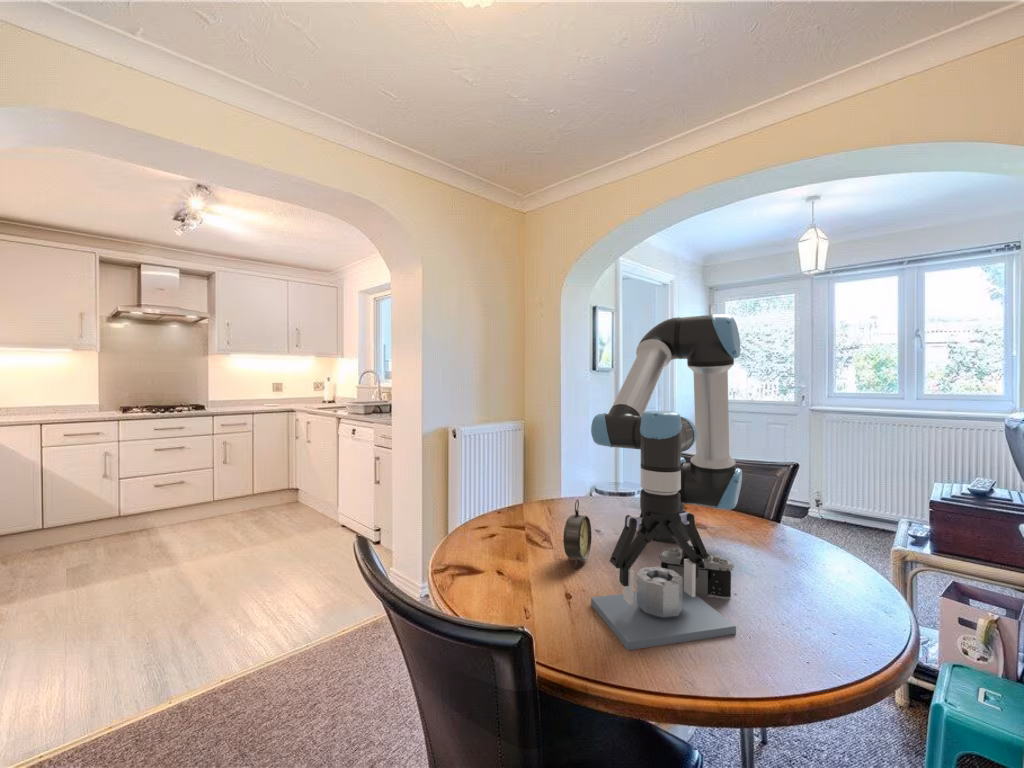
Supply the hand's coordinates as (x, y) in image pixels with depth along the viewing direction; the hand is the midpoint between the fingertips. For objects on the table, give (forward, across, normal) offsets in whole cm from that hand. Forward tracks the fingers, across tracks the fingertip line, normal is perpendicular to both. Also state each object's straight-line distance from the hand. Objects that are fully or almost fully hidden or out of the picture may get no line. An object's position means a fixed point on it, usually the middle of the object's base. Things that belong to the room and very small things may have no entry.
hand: (659, 597), depth 88 cm
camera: (+4, -15, -10) cm, 18 cm away
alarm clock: (+4, +6, -29) cm, 30 cm away
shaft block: (+4, 0, 0) cm, 4 cm away
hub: (+2, 0, 0) cm, 2 cm away
